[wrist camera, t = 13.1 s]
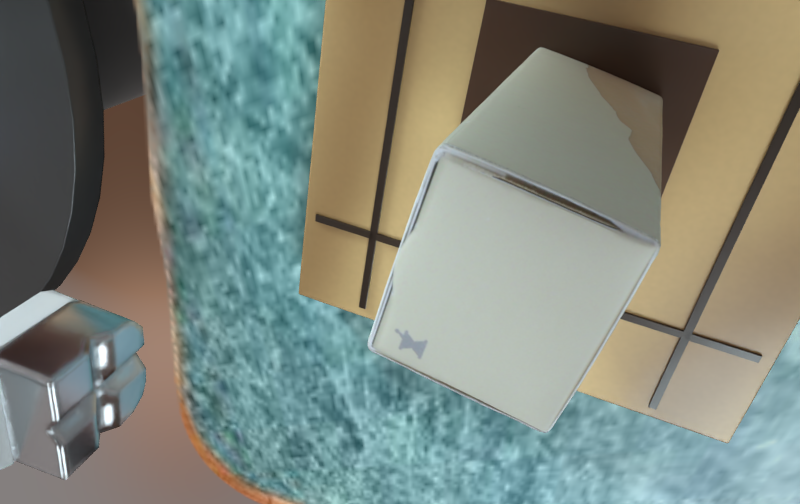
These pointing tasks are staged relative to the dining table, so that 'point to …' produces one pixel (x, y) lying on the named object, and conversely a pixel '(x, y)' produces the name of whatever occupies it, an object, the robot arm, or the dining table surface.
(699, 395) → the board
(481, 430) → the dining table surface
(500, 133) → the box
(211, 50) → the dining table surface
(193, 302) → the dining table surface
